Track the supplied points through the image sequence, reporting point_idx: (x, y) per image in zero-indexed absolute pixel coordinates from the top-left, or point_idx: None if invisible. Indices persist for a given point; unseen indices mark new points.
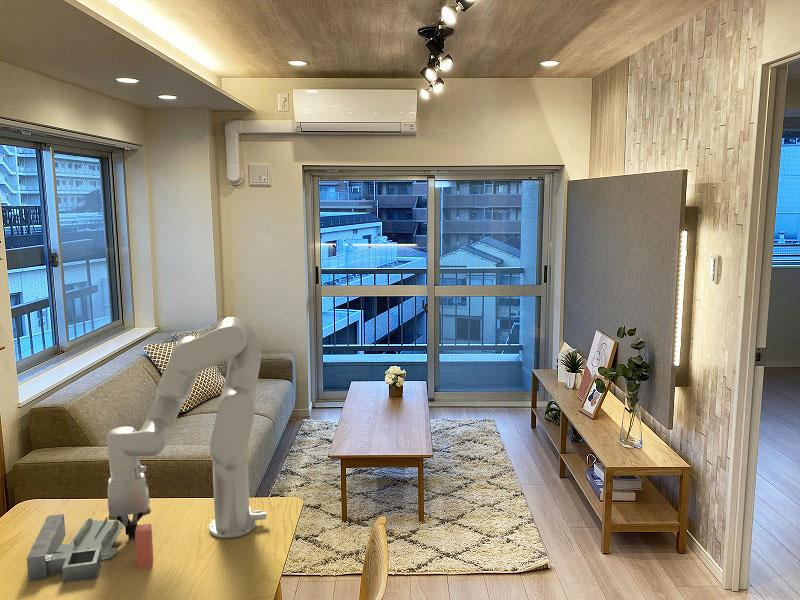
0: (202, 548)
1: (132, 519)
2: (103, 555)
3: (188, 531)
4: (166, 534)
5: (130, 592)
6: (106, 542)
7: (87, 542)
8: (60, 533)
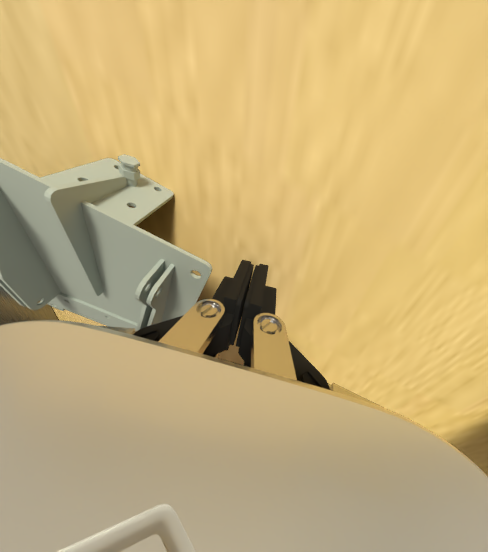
0: (423, 418)
1: (245, 338)
2: None
3: (474, 333)
4: (382, 313)
5: None
6: None
7: (88, 296)
8: None
